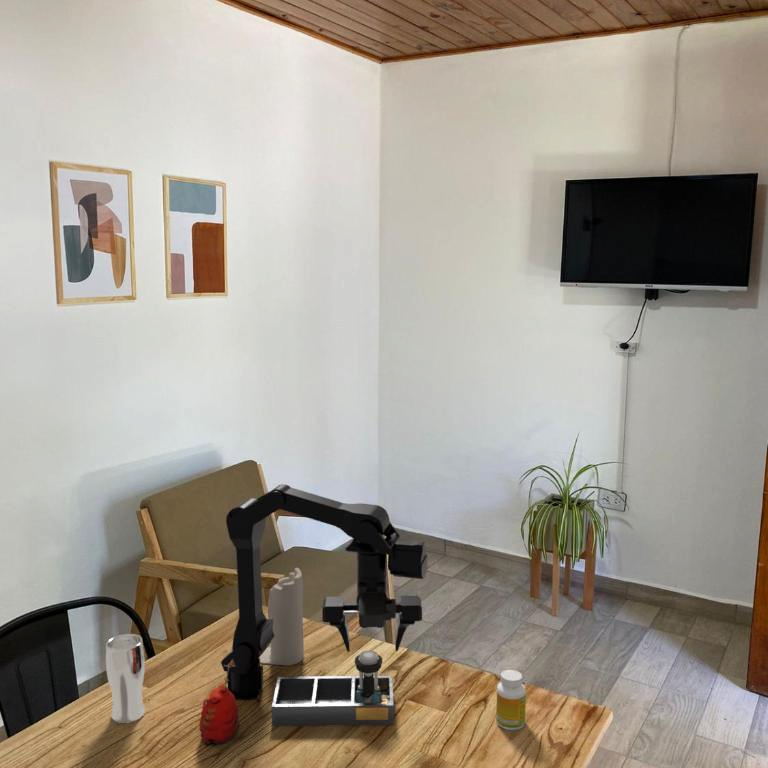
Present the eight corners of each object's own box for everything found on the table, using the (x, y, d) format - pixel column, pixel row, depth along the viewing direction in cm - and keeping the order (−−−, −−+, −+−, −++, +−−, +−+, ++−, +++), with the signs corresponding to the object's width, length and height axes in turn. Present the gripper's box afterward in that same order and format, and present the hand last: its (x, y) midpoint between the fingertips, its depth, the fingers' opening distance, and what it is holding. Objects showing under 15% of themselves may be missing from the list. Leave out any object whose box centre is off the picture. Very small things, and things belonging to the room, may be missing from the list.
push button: (390, 696, 155) (390, 649, 153) (387, 712, 149) (387, 663, 148) (357, 694, 155) (357, 647, 154) (353, 709, 150) (352, 661, 149)
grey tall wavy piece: (247, 646, 177) (244, 562, 174) (307, 650, 175) (305, 565, 172) (237, 662, 170) (234, 575, 167) (299, 666, 168) (297, 578, 165)
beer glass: (154, 709, 152) (151, 637, 150) (129, 729, 146) (125, 654, 144) (127, 701, 155) (123, 630, 153) (101, 720, 149) (96, 646, 147)
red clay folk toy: (206, 723, 148) (204, 649, 146) (243, 724, 148) (241, 649, 145) (196, 748, 140) (192, 670, 138) (235, 748, 140) (232, 671, 138)
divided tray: (271, 727, 147) (271, 707, 146) (278, 695, 157) (278, 676, 157) (393, 725, 147) (393, 706, 146) (391, 694, 158) (392, 675, 157)
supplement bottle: (524, 732, 145) (526, 684, 143) (495, 729, 146) (496, 681, 144) (525, 716, 150) (526, 669, 149) (496, 713, 151) (497, 666, 150)
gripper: (319, 591, 140) (321, 673, 142) (424, 590, 140) (423, 671, 143) (323, 567, 151) (324, 643, 153) (420, 566, 151) (420, 642, 154)
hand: (372, 650), depth 151 cm, fingers open, 9 cm apart
